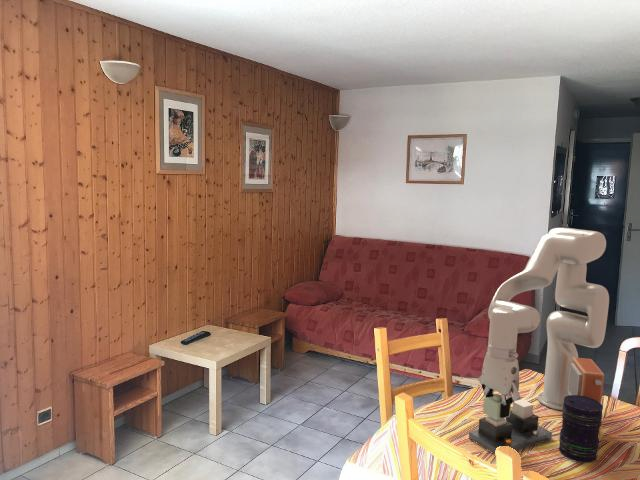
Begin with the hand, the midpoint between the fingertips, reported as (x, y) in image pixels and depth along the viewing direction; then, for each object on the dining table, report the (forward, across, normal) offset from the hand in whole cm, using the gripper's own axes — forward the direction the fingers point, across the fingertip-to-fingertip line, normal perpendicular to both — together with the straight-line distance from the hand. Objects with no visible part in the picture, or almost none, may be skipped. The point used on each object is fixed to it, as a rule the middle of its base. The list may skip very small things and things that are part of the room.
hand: (496, 411), depth 152 cm
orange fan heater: (+9, -8, -27) cm, 30 cm away
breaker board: (+9, -1, -5) cm, 11 cm away
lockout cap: (+1, 0, 0) cm, 1 cm away
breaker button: (+5, 0, -11) cm, 12 cm away
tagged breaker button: (+7, 0, 0) cm, 7 cm away
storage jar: (+9, -15, -16) cm, 24 cm away
